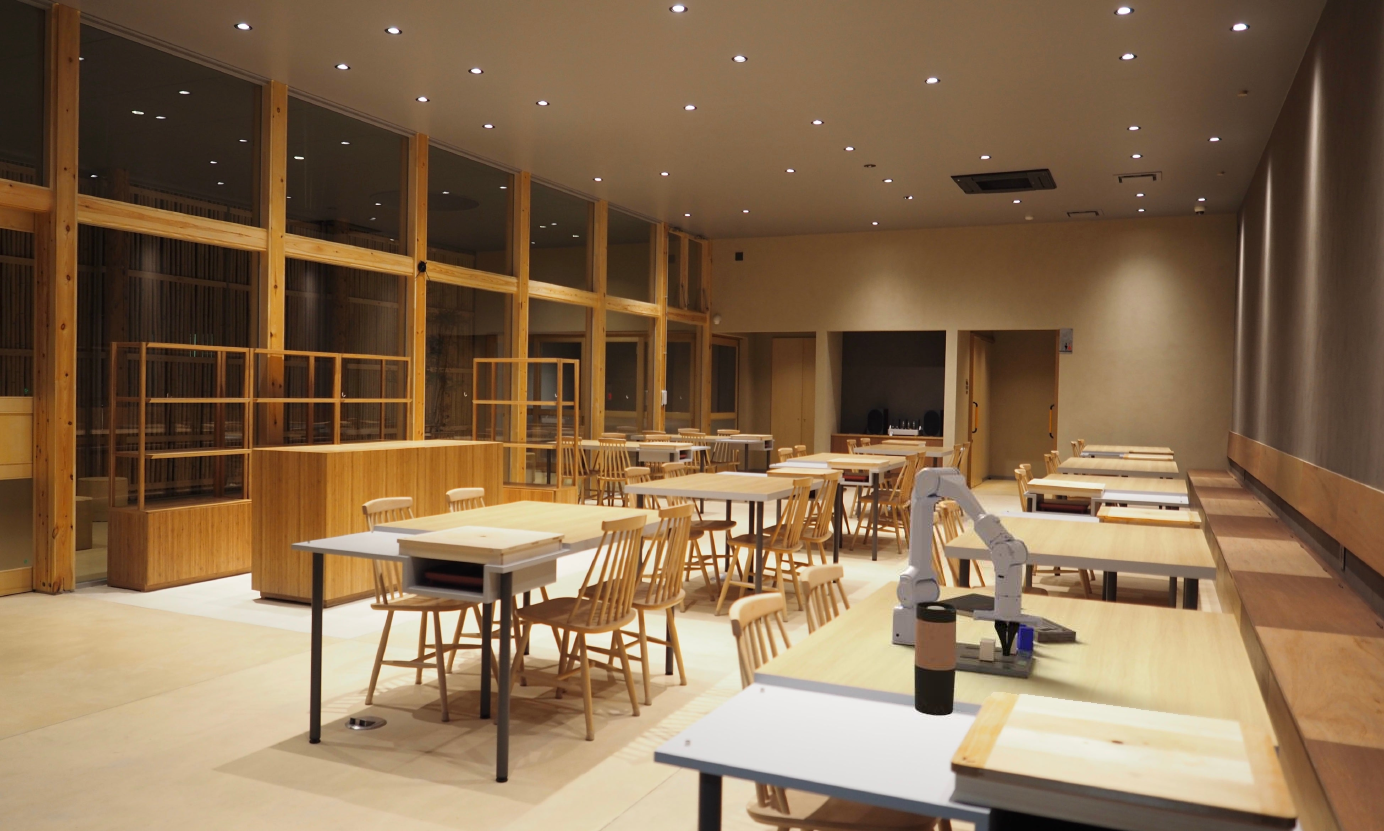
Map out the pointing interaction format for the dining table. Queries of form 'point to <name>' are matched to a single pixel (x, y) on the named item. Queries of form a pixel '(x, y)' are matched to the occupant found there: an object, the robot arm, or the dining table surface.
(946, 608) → the travel mug
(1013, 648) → the on breaker
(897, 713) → the dining table surface
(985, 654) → the breaker
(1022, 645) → the cable clip
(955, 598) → the hardcover book
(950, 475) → the robot arm
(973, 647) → the breaker panel
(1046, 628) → the grey flat block
